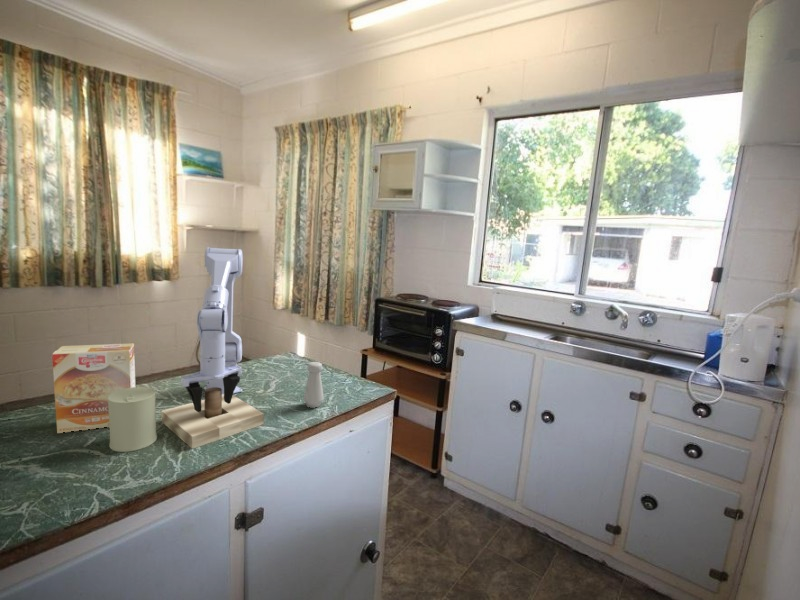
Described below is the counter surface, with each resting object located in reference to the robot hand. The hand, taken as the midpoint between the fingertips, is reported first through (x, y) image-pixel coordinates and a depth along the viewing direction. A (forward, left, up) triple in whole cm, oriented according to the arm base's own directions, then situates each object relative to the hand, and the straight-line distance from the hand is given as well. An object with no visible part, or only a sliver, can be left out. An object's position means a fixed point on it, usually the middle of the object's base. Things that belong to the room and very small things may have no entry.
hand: (213, 406), depth 103 cm
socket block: (0, 0, -5) cm, 5 cm away
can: (-3, -17, -5) cm, 18 cm away
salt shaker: (+8, +26, -5) cm, 28 cm away
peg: (0, 0, -5) cm, 5 cm away
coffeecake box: (-18, -20, -5) cm, 27 cm away
